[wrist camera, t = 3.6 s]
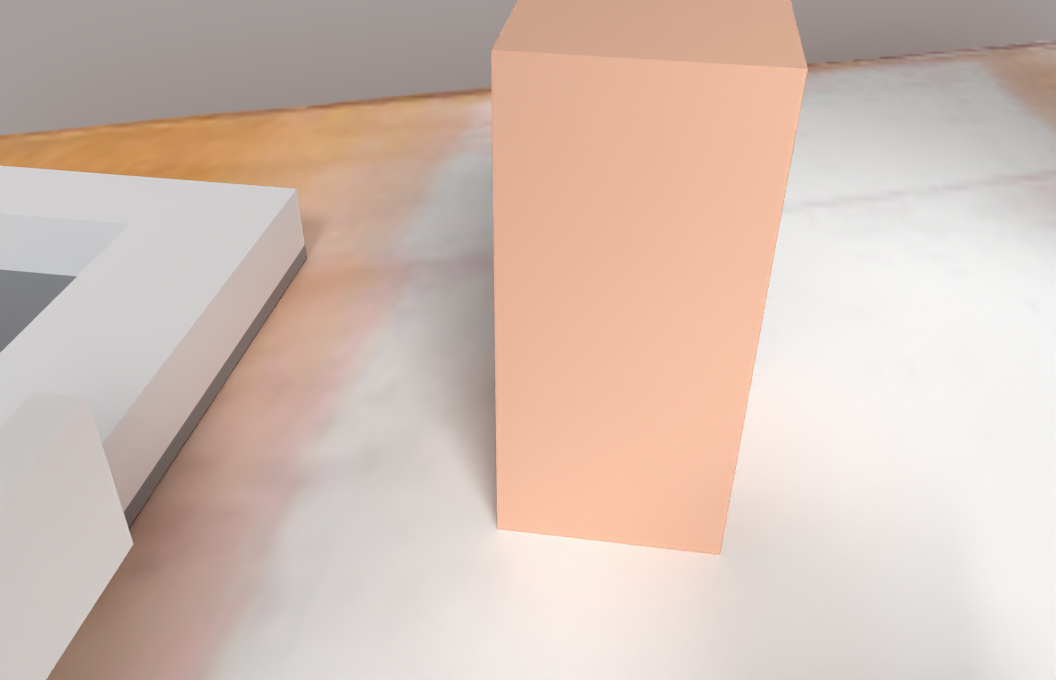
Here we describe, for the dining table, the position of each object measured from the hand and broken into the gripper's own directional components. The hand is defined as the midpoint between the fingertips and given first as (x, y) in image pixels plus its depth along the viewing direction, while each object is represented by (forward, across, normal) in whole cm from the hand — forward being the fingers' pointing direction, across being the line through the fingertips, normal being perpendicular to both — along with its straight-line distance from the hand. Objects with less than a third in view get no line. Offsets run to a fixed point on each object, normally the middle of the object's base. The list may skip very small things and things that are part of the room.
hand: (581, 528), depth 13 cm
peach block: (+10, 0, -7) cm, 12 cm away
